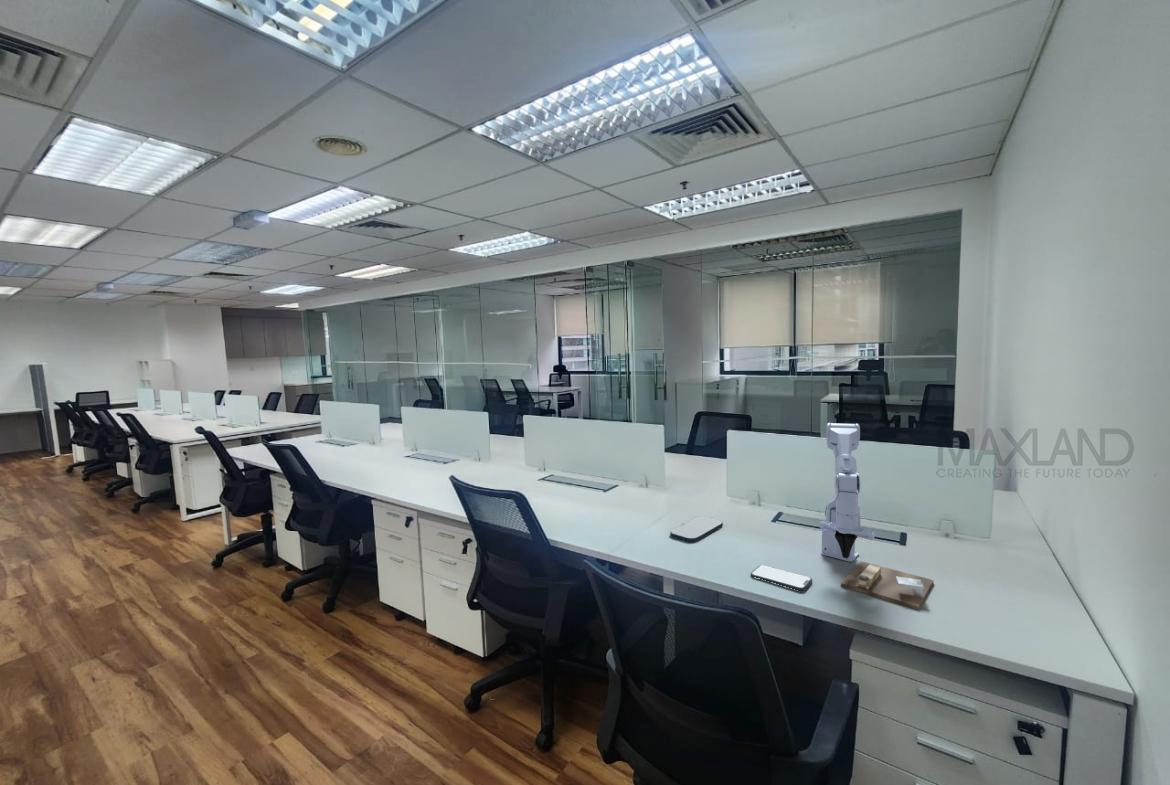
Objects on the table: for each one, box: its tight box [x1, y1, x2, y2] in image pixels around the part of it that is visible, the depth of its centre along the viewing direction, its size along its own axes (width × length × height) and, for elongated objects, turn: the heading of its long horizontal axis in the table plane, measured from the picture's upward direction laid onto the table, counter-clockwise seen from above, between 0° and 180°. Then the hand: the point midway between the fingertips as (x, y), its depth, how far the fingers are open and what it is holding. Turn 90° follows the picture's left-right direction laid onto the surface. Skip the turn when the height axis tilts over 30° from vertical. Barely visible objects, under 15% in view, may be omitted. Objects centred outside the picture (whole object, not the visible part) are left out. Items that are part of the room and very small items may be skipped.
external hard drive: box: [670, 515, 724, 543], centre depth 187 cm, size 24×12×2 cm, turn 136°
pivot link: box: [856, 563, 881, 589], centre depth 142 cm, size 13×4×3 cm, turn 135°
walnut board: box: [840, 560, 934, 611], centre depth 141 cm, size 19×19×1 cm
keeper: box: [896, 576, 924, 598], centre depth 134 cm, size 6×4×4 cm
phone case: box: [750, 564, 813, 592], centre depth 147 cm, size 9×2×16 cm
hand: (845, 556), depth 147 cm, fingers closed
